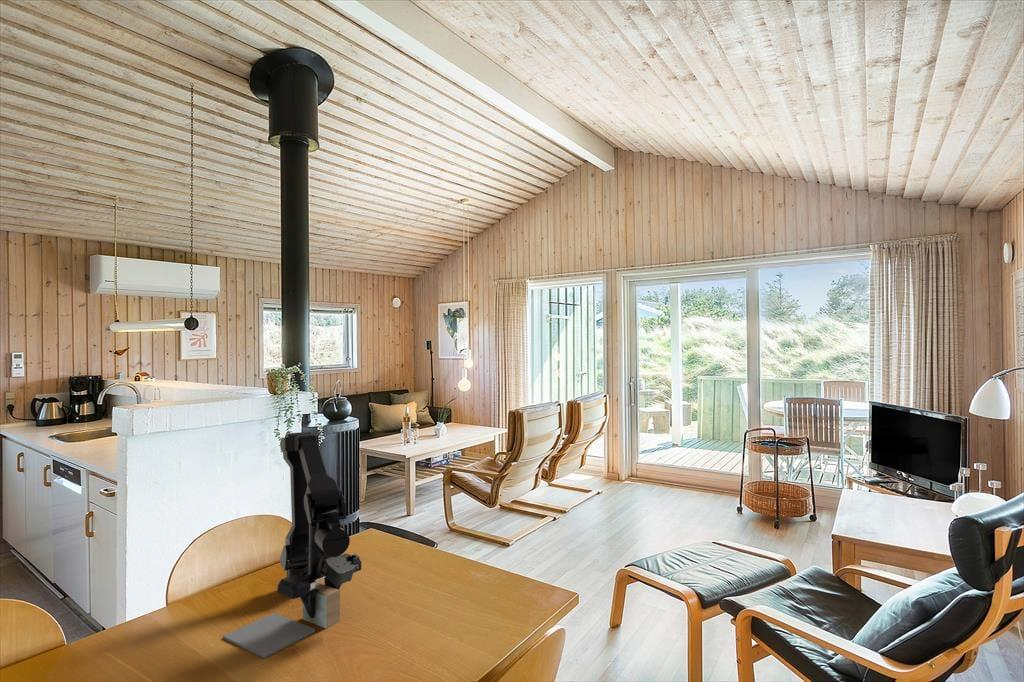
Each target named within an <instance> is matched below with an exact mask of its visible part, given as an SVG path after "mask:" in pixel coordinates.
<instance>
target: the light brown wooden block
mask: <svg viewBox="0 0 1024 682" xmlns="http://www.w3.org/2000/svg"><path fill="white" fill-rule="evenodd" d="M315 589H318V590H319V592H318V593H317V594H316V600H315V616H314V618H310V617H309V615H308V612H307V610H306V608H305V606H304V604H303V603H302V617H301V619H302V620H304V621H306V622H308V623H312V624H314V625H316V626H319V627H321V628H324V629H329V628H331V627H333V626H334V625H336V624H338V623H340V616H341V612H340V611H341V590H340V589H339V590H338V589H335V588H332V587H329V586H326V585H325V584H323V583H320V582H318V581H316V583H315Z"/></svg>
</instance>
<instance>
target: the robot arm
mask: <svg viewBox="0 0 1024 682" xmlns="http://www.w3.org/2000/svg"><path fill="white" fill-rule="evenodd" d="M319 445H320V439H319V434H315V433H312V432H311V431H305V432H304V431H301V432H289V433H288V432H287V433H285V435H284V437H281V438H280V451H281V452H282V458H283V460H284V462H285V463H286V464H287V466H288V467H289V471H290V472H289V474H290V475H289V476H290V477H289V478H290V500H291V501H290V504H291V505H290V508H291V509H290V510H291V526H290V529H289V531H288V533H287V535H286V536H285V545H283V547H282V550H281V552H280V556H279V558H280V566H281V568H282V569H283V570H284V571H286V577H283V578H281V579H280V580H279V581H278V583H277V594H279V595H282V596H285V597H287V598H289V599H290V598H291V599H293V600H294V599H298V598H299V599H300V600H301V602H302V605H303V604H304V606H305V608H306V610H307V612H308V615H309V617H310V618H314V616H315V600H316V594H317V593H318V592H319V590H318V589H315V583H316V582H318V581H321V580H323V579H324V580H323V581H324V585H326V586H329V587H332V588H335V589H338V590H340V589H341V586H342V585H344V584H345V583H347V582H348V583H349V582H350V581H352V579H353V576H354V573H357V572H359V571H362V560H361V559H360V556H359V555H358V554H357V553H353V554H348V553H345V552H346V551H347V549H348V548H349V545H350V543H351V540H350V536H349V533H348V532H347V531H346V530H345V529H344V528H342V527H341V526H342V525H341V524H342V523H341V522H340V520H346V519H347V515H346V514H347V512H348V508H347V505H346V500H345V497H344V494H343V493H342V490H341V489H340V488H339V486H338V483H337V482H336V481H337V480H336V479H334V478H332V477H331V476H329V475H328V472H327V469H326V466H325V463H324V460H323V456H322V453H321V449H320V446H319ZM337 510H338V511H337Z"/></svg>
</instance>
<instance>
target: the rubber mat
mask: <svg viewBox="0 0 1024 682" xmlns="http://www.w3.org/2000/svg"><path fill="white" fill-rule="evenodd" d="M315 632H316V628H313V627H310V626H308V625H306V624H303V623H301V622H298V621H296V620H294V619H291V618H288V617H286V616H284V615H281V614H279V613H276V612H273V613H271V614H268V615H265V616H264V617H261V618H260V619H258V620H255V621H253V622H250V623H249V624H246V625H244V626H242V627H239V628H237V629H235V630H233V631H231V632H228V633H226V634H224V635H222V639H224V640H225V641H227V642H229V643H232V644H233V645H236V646H238V647H239V648H242V649H244V650H246V651H248V652H250V653H252V654H254V655H256V656H258V657H260V658H262V659H266V658H268V657H270V656H272V655H274V654H275V653H277V652H279V651H281V650H283V649H285V648H286V647H289V646H290V645H292V644H294V643H296V642H298V641H300V640H302V639H304V638H306V637H308V636H309V635H312V634H314V633H315Z"/></svg>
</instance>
